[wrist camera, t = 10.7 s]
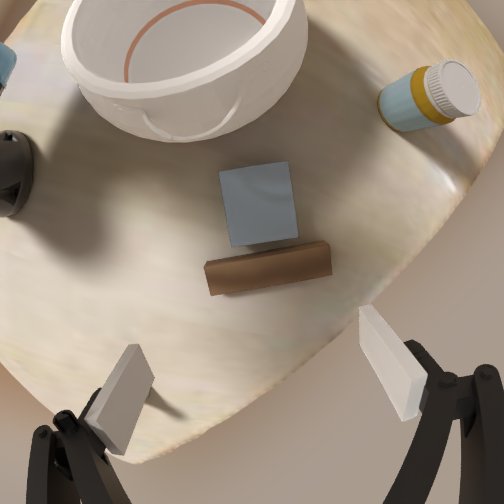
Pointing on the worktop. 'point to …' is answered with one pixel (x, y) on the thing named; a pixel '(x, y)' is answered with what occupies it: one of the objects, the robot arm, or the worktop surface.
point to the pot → (183, 62)
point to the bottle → (430, 97)
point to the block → (268, 268)
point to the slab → (259, 203)
